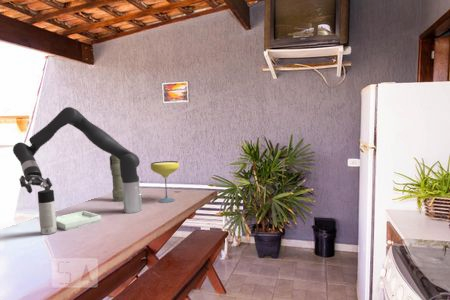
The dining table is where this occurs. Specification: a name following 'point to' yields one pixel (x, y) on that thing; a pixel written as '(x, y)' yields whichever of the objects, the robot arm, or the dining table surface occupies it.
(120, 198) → the olive green statue
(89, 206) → the dining table surface
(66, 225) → the sage tray
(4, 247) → the dining table surface
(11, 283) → the dining table surface
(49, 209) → the spray can
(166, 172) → the cocktail glass
